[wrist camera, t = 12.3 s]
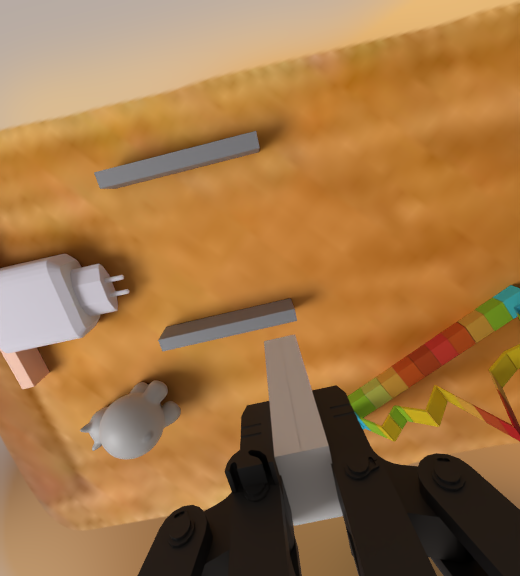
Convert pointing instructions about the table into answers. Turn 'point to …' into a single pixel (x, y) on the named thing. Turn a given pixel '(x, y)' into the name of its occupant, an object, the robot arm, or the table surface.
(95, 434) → the chubby cartoon animal
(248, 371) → the table surface
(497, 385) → the chart
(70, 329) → the charger
